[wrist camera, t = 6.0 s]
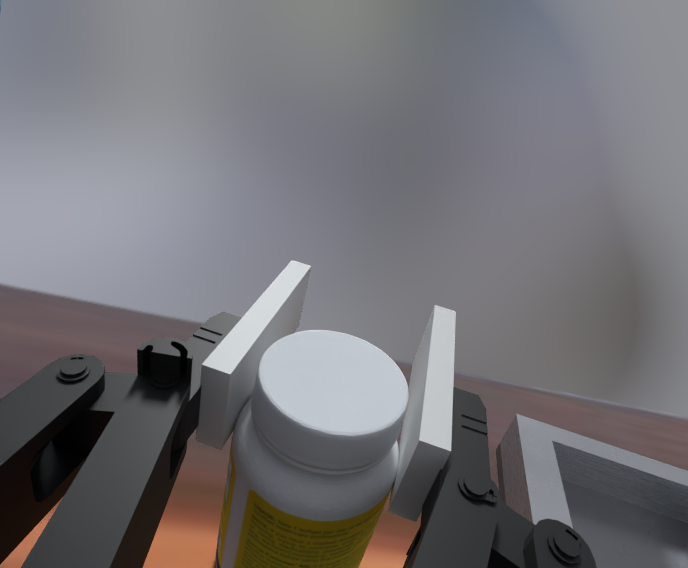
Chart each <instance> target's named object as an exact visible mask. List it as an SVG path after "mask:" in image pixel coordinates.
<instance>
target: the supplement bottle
mask: <svg viewBox="0 0 688 568" xmlns="http://www.w3.org/2000/svg"><path fill="white" fill-rule="evenodd" d="M408 400H409V392H408V386H407V382H406V379H405V377H404V375H403V373H402V372H401V370H400V368H399V367H398V366H397V365H396V364H395V362H394V361H393V360H392V359H391V358H390V357H389V356H388V355H387V354H385V353H384V352H383V351H382V350H380V349H379V348H377V347H375V346H374V345H372V344H370V343H368V342H366V341H365V340H362V339H360V338H357V337H355V336H352V335H348V334H345V333H340V332H335V331H327V330H309V331H302V332H297V333H293V334H290V335H288V336H285V337H283V338H281V339H279V340H278V341H276V342H275V343H273V344H272V345H271V346H270V347H269V348H268V349H267V350H266V351H265V353H264V354H263V356H262V358H261V360H260V362H259V366H258V370H257V375H256V380H255V385H254V389H253V393H252V397H251V398H250V400H249V401H248V402H247V403H246V405H245V406H244V407H243V409H242V411H241V412H240V414H239V416H238V419H237V421H236V424H235V428H234V432H233V436H232V443H231V450H230V458H229V464H228V472H227V479H226V485H225V492H224V499H223V506H222V512H221V520H220V527H219V535H218V543H217V550H216V568H358V567H359V565H360V562H361V560H362V558H363V555H364V553H365V551H366V548H367V546H368V543H369V541H370V539H371V537H372V534H373V532H374V529H375V527H376V525H377V522H378V520H379V517H380V515H381V513H382V510H383V508H384V505H385V503H386V500H387V498H388V496H389V493H390V491H391V489H392V486H393V484H394V481H395V477H396V473H397V469H398V462H399V449H398V443H397V438H398V436H399V434H400V430H401V425H402V422H403V419H404V416H405V413H406V410H407V406H408Z"/></svg>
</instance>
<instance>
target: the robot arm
mask: <svg viewBox="0 0 688 568" xmlns="http://www.w3.org/2000/svg"><path fill="white" fill-rule="evenodd" d="M0 10H1V0H0ZM310 270H311V266H309V265H306V264H302V263H300V262H296V261H293V260H292V261H291V262H290V263H289V264H288V265H287V267H286V268H285V269H284V270H283V271H282V272H281V273H280V275H279V276H278V277H277V278H276V279H275V280H274V282H273V283H272V284H271V285H270V286H269V287H268V289H267V290H266V291H265V292H264V293H263V294H262V295H261V297H260V298H259V299H258V300H257V301H256V302H255V303H254V305H253V306H252V307H251V308H250V309H249V310H248V312H247V313H246V314H245V315H244V316H243V317H242V318H241V317H238V316H234V315H232V314H229V313H226V312H222V313H220V314H217V315H215V316H213V317H211V318H209V319H208V320H207V321H206V322H205V323H204V324H203V325H202V326H201V328H200V329H198V330H197V331H196V332H195V333H194V334H193V337H192V336H191V337H190V338H189V339H188V340H187V341H186V342H184V341H183V340H179V339H176V338H167V337H162V338H157V339H152V340H150V341H148V342H145V343H143V344H142V345H141V346H140V347H139V348H138V349H137V361H138V374H120V373H108V372H105V366H104V365H103V363H102V361H101V360H99V359H98V358H96V357H94V356H90V355H84V354H80V355H70V356H66V357H62V358H59V359H58V360H56V361H54V362H52V363H50V364H49V365H47V366H46V367H45V368H43V369H42V370H41V371H39V372H38V373H37V374H35V375H34V376H32V377H31V378H30V379H28V380H27V381H26V382H24V383H23V384H21V385H20V386H19V387H17V388H16V389H15V390H13V391H12V392H10V393H9V394H8V395H6V396H5V397H4V398H2V399H1V400H0V564H1V563H2V562H3V561H4V560H5V559H6V558H7V557H8V556H9V554H10V553H11V552H12V551H13V550H14V549H15V548H16V547H17V546H18V545H19V544H20V543H21V541H22V540H23V539H24V538H25V537H26V536H27V535H28V534H29V533H30V532H31V531H32V530H33V528H34V527H35V526H36V525H37V524H38V523H39V522H40V521H41V520H42V519H43V518H44V517H45V515H46V514H47V513H48V512H49V511H50V510H51V509H52V508H53V507H54V506H55V505H56V504H57V502H58V501H59V500H60V499H61V498H62V497H63V496H64V495H65V496H64V497H63V499H62V500H61V502H60V504H59V505H58V507H57V509H56V510H55V512H54V514H53V515H52V517H51V519H50V520H49V522H48V524H47V525H46V527H45V529H44V530H43V532H42V533H41V535H40V537H39V538H38V540H37V542H36V543H35V545H34V547H33V548H32V550H31V552H30V553H29V555H28V557H27V558H26V560H25V562H24V563H23V565H22V567H21V568H142V567H143V565H144V562H145V559H146V557H147V554H148V552H149V549H150V546H151V544H152V541H153V538H154V536H155V533H156V530H157V528H158V525H159V522H160V520H161V517H162V515H163V512H164V509H165V507H166V504H167V501H168V499H169V496H170V493H171V491H172V488H173V485H174V483H175V480H176V478H177V475H178V472H179V470H180V467H181V464H182V462H183V459H184V456H185V454H186V449H187V440H188V438H189V437H190V436H191V434H192V433H193V432H194V430H195V429H196V427H197V429H196V441H198V442H201V443H204V444H206V445H209V446H212V447H214V448H217V449H220V450H221V449H222V448H223V446H224V445H225V443H226V441H227V440H228V438H229V437H230V435H231V433H232V432H233V430H234V428H235V424H236V421H237V419H238V416H239V414H240V412H241V411H242V409H243V407H244V406H245V405H246V403H247V402H248V401H249V400H250V398H251V397H252V393H253V389H254V385H255V380H256V375H257V370H258V366H259V362H260V360H261V358H262V356H263V354H264V353H265V351H266V350H267V349H268V348H269V347H270V346H271V345H272V344H273V343H275V342H276V341H278V340H279V339H281V338H283V337H285V336H288V335H290V334H293V333H295V331H296V329H297V328H298V326H299V322H300V318H301V313H302V308H303V303H304V298H305V293H306V289H307V284H308V279H309V274H310ZM455 315H456V312H455V311H452V310H449V309H446V308H443V307H440V306H436V305H435V306H434V309H433V312H432V314H431V317H430V320H429V322H428V325H427V328H426V330H425V333H424V335H423V338H422V341H421V343H420V346H419V349H418V351H417V354H416V357H415V359H414V362H413V366H412V372H411V378H410V384H409V390H408V392H409V400H408V406H407V410H406V413H405V416H404V420H403V426H402V432H401V438H400V444H399V462H398V469H397V473H396V477H395V481H394V484H393V486H392V491H391V497H390V503H389V509H388V512H391V513H393V514H396V515H399V516H401V517H404V518H407V519H410V520H412V521H415V522H416V521H417V519H418V517H419V515H420V513H421V511H422V515H421V526H420V528H419V530H418V532H417V534H416V536H415V538H414V540H413V542H412V544H411V546H410V548H409V550H408V552H407V554H406V555H408V556H407V559H406V561H405V564H404V566H403V568H597V566H596V563H595V559H594V557H593V554H592V552H591V550H590V547H589V546H588V545H587V543H586V542H585V541H584V539H583V538H582V537H581V536H580V535H579V534H578V533H577V532H576V531H575V530H573V529H572V528H571V527H570V526H568V525H566V524H564V523H562V522H560V521H558V520H553V519H548V518H547V519H543V520H540V521H538V523H537V524H536V525H535V524H533V523H532V522H530V521H529V520H527V519H526V518H524V517H523V516H521V515H520V514H518V513H517V512H515V511H514V510H513V509H511V508H510V507H509V506H507V505H506V504H505V502H504V501H503V500H502V499H501V498H500V493H499V491H498V488H497V486H496V484H495V483H494V482H493V481H492V480H491V477H490V464H489V448H488V436H487V434H488V433H487V425H486V423H487V418H486V408H485V407H484V405H483V403H482V401H481V399H480V397H479V395H476V394H473V393H470V392H467V391H464V390H461V389H458V388H455V387H453V378H454V347H455Z"/></svg>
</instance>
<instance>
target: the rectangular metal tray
mask: <svg viewBox="0 0 688 568" xmlns="http://www.w3.org/2000/svg"><path fill="white" fill-rule="evenodd" d="M496 453H497V465H498V477H499V488H500V498H501V499H502V500H503V501H504V502H505V504H506V505H507V506H509V507H510V508H511V509H513V510H514V511H515V512H517V513H518V514H520V515H521V516H523V517H524V518H526V519H527V520H529V521H530V522H532V523H533V524H535V525H536V524H537V523H538V521H540V520H543V519H547V518H548V519H553V520H558V521H560V522H562V523H564V524H566V525H568V526H570V527H571V528H572V529H573V530H575V531H576V532H577V533H578V534H579V535H580V536H581V537H582V538H583V539H584V541H585V542H586V543H587V545H588V546H589V547H590V550H591V552H592V554H593V557H594V559H595V563H596V566H597V568H688V471H686V470H683V469H680V468H677V467H674V466H671V465H668V464H665V463H662V462H659V461H656V460H653V459H650V458H647V457H644V456H641V455H638V454H635V453H632V452H629V451H626V450H623V449H620V448H617V447H614V446H611V445H608V444H605V443H602V442H599V441H596V440H593V439H590V438H587V437H584V436H581V435H578V434H575V433H572V432H569V431H566V430H563V429H560V428H557V427H554V426H551V425H548V424H545V423H542V422H539V421H536V420H533V419H530V418H527V417H524V416H521V415H518V414H516V416H515V417H514V419H513V421H512V423H511V424H510V426H509V428H508V430H507V431H506V433H505V435H504V437H503V439H502V440H501V442H500V444H499V446H498V447H497V449H496Z"/></svg>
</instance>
